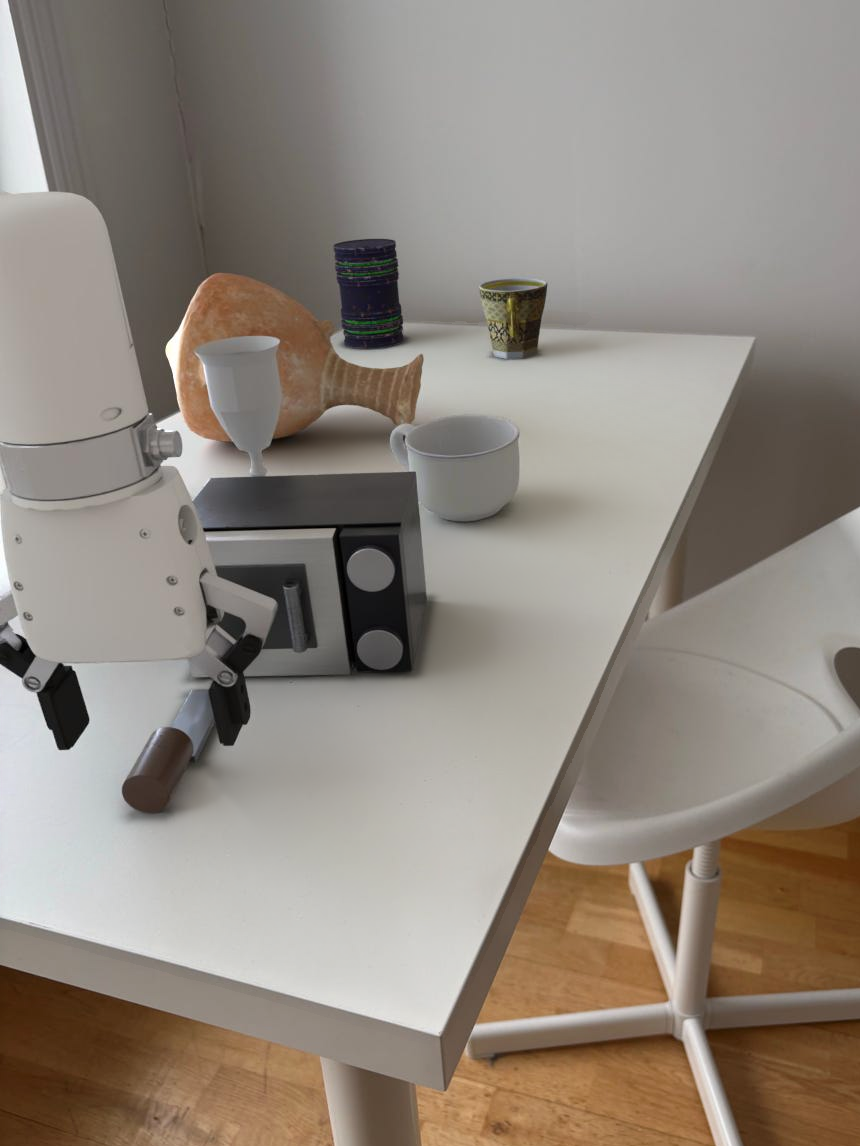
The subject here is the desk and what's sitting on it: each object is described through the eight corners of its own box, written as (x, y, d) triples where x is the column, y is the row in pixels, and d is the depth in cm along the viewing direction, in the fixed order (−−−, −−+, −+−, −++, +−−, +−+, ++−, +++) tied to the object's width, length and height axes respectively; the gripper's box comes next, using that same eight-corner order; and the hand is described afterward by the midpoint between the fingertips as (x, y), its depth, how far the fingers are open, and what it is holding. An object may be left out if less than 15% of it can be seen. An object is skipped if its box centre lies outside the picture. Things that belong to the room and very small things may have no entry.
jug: (197, 315, 129) (432, 334, 129) (180, 459, 127) (418, 478, 126) (147, 233, 109) (424, 255, 109) (125, 402, 107) (408, 424, 107)
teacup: (544, 506, 99) (543, 426, 95) (464, 542, 92) (458, 457, 88) (448, 475, 107) (442, 401, 104) (368, 506, 101) (359, 428, 97)
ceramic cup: (483, 347, 157) (480, 279, 152) (548, 344, 156) (546, 276, 151) (480, 368, 145) (476, 296, 140) (549, 365, 145) (548, 293, 140)
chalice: (249, 562, 91) (213, 360, 82) (218, 539, 95) (181, 346, 87) (321, 539, 94) (294, 344, 85) (288, 519, 99) (259, 332, 90)
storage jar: (342, 337, 167) (330, 241, 160) (401, 332, 168) (392, 236, 161) (346, 351, 159) (334, 250, 151) (408, 345, 160) (399, 245, 153)
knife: (173, 813, 60) (163, 775, 58) (127, 813, 60) (116, 775, 59) (230, 694, 71) (223, 660, 70) (191, 695, 71) (183, 661, 70)
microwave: (410, 679, 72) (396, 536, 66) (189, 683, 73) (158, 543, 67) (426, 599, 82) (416, 471, 77) (234, 604, 84) (210, 477, 78)
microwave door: (346, 687, 71) (327, 547, 66) (184, 690, 72) (153, 552, 66) (353, 663, 74) (336, 527, 69) (198, 666, 75) (169, 532, 69)
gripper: (264, 427, 54) (310, 697, 63) (-45, 442, 56) (40, 704, 64) (227, 475, 48) (283, 769, 56) (-122, 491, 49) (-17, 776, 57)
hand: (154, 734), depth 60 cm, fingers open, 9 cm apart
